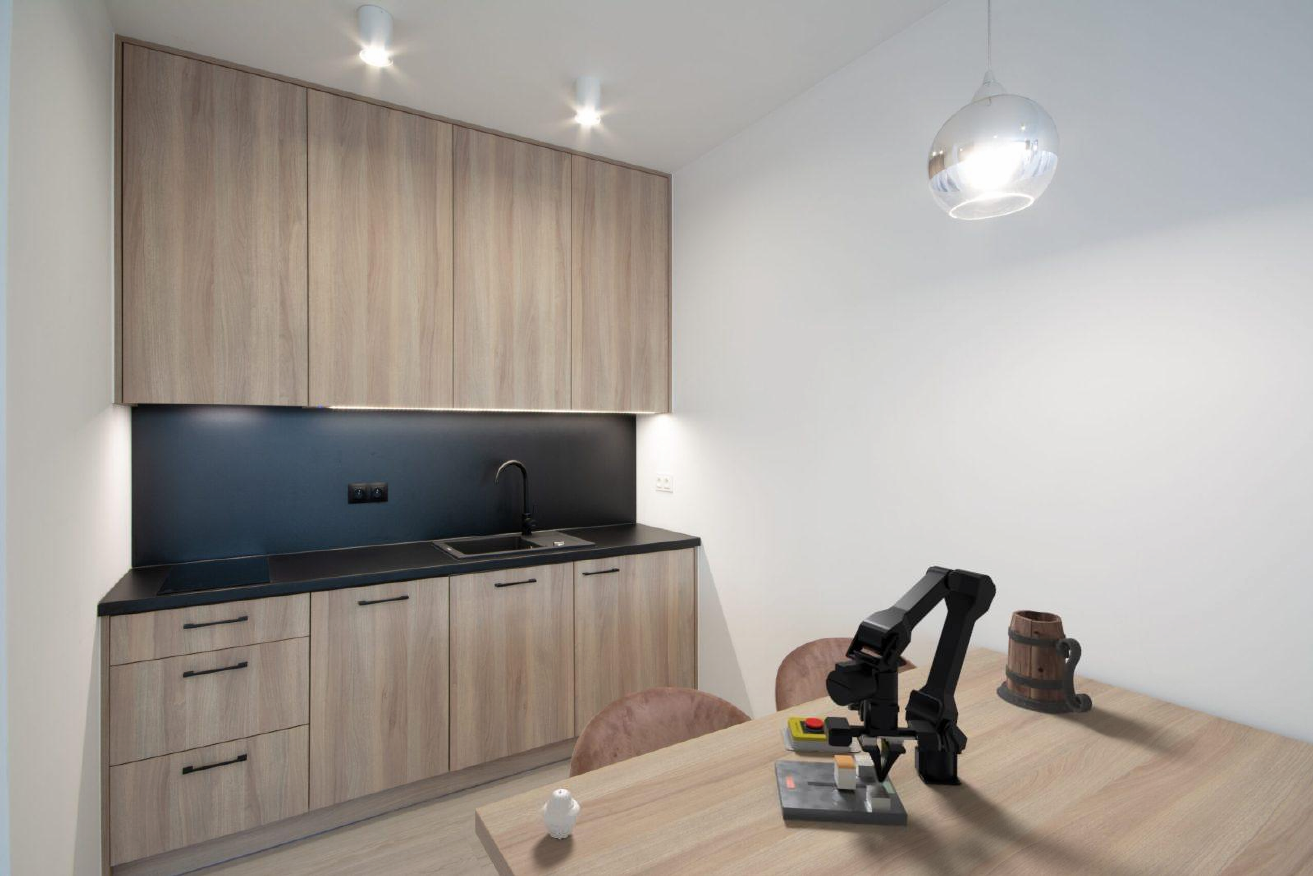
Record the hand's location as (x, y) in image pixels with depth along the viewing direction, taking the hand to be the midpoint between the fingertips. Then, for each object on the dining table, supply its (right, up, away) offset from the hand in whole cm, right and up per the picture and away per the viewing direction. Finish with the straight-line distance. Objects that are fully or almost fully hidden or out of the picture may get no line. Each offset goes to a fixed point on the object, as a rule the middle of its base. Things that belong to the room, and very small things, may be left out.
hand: (880, 781), depth 111 cm
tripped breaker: (-6, -1, +1) cm, 6 cm away
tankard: (+52, -3, +38) cm, 65 cm away
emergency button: (-5, -4, +21) cm, 22 cm away
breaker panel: (-8, -3, +1) cm, 8 cm away
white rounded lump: (-55, -4, -9) cm, 56 cm away
